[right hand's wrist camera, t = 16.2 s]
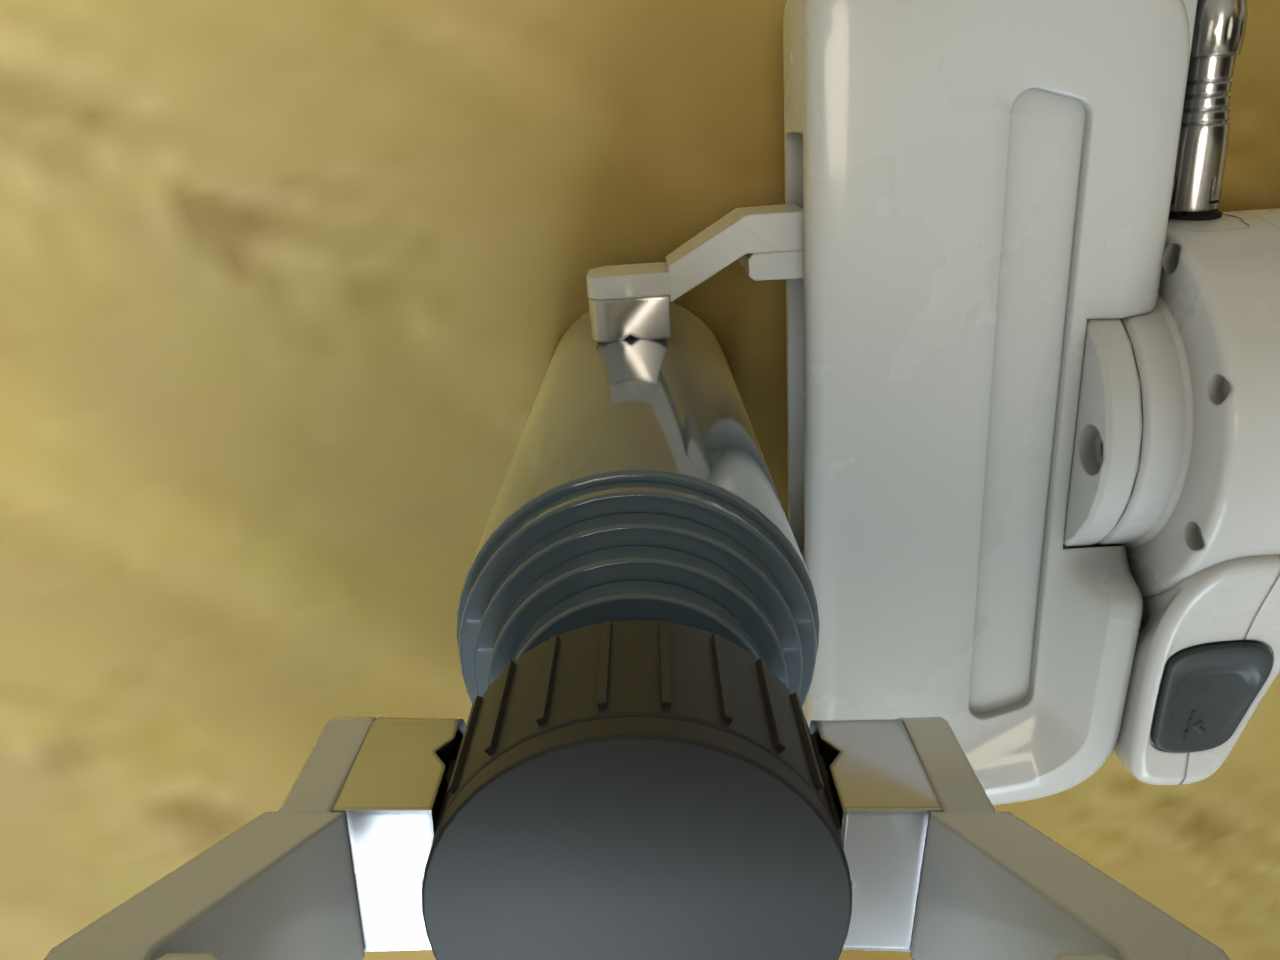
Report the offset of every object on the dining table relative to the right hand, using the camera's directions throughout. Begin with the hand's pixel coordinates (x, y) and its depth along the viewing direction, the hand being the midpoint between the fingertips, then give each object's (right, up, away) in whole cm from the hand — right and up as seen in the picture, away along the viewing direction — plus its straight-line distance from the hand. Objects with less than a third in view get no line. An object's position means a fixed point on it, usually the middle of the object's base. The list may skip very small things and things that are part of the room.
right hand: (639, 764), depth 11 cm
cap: (0, -1, -2) cm, 2 cm away
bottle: (0, +6, +16) cm, 17 cm away
